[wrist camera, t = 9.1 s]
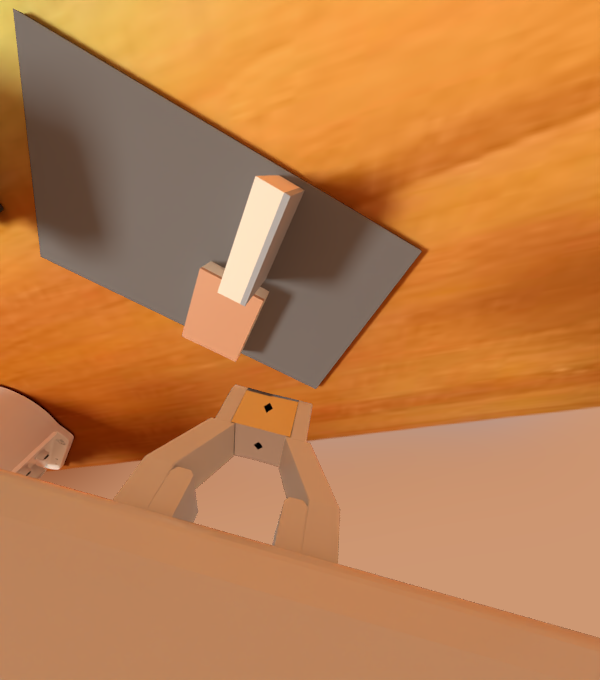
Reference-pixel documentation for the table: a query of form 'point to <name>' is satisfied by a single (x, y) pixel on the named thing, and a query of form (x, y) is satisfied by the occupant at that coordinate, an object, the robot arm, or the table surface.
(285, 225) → the light grey flat block
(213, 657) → the robot arm
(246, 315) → the peach flat block
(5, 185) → the table surface
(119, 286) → the mat
